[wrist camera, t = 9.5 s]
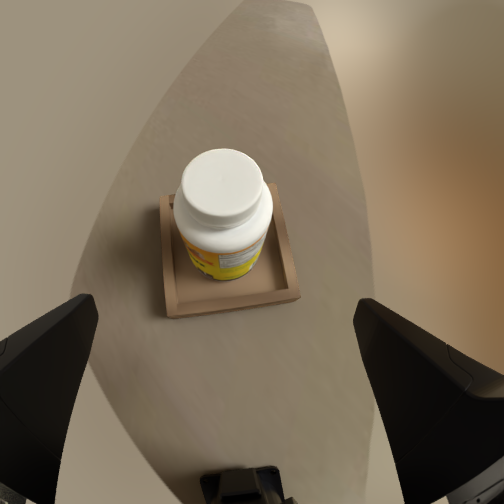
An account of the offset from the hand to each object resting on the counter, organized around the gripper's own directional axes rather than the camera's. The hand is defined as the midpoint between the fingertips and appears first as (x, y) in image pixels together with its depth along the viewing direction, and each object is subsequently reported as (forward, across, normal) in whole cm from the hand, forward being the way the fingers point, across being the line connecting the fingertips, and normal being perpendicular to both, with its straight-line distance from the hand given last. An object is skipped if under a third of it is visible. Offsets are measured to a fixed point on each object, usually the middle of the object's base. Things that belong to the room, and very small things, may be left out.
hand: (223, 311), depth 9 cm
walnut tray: (+14, 0, +5) cm, 15 cm away
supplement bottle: (+14, 0, +4) cm, 14 cm away
